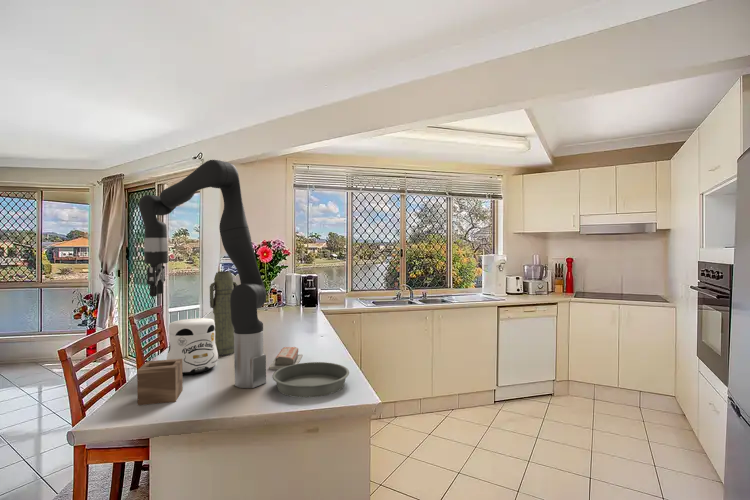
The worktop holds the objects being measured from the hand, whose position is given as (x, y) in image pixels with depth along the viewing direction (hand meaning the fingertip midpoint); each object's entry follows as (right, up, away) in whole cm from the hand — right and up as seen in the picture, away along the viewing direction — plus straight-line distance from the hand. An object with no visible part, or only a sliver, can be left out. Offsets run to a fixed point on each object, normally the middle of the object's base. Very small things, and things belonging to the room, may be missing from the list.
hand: (156, 295), depth 149 cm
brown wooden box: (+15, -28, -26) cm, 41 cm away
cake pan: (+59, -28, -16) cm, 67 cm away
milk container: (+12, -28, +2) cm, 31 cm away
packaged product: (+45, -28, +11) cm, 54 cm away
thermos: (+15, -28, +26) cm, 41 cm away
